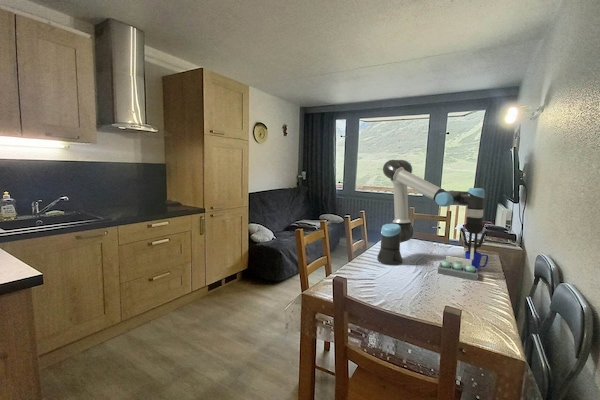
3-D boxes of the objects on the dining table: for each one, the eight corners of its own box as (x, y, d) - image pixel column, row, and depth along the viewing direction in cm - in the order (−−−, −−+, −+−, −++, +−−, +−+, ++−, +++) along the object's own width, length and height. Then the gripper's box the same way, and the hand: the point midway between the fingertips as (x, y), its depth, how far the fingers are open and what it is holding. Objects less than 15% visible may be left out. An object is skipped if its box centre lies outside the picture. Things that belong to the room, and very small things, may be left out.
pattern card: (445, 267, 167) (446, 256, 166) (445, 267, 168) (446, 255, 167) (470, 272, 160) (471, 260, 159) (470, 271, 161) (471, 259, 160)
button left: (441, 267, 160) (441, 262, 159) (441, 265, 164) (442, 260, 163) (449, 269, 158) (450, 264, 157) (450, 266, 161) (450, 261, 161)
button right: (465, 271, 154) (465, 266, 153) (465, 269, 157) (465, 264, 157) (474, 273, 151) (475, 268, 151) (474, 271, 155) (475, 265, 155)
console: (437, 273, 158) (437, 268, 157) (439, 267, 168) (440, 262, 167) (477, 280, 148) (477, 275, 147) (476, 273, 158) (477, 268, 157)
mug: (490, 272, 159) (491, 256, 158) (466, 271, 162) (468, 254, 160) (483, 267, 167) (485, 251, 166) (461, 266, 170) (463, 250, 168)
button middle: (452, 269, 157) (453, 264, 156) (453, 267, 160) (453, 262, 160) (461, 271, 154) (462, 266, 154) (462, 268, 158) (462, 263, 158)
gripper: (460, 216, 151) (457, 258, 153) (489, 218, 144) (486, 262, 146) (461, 214, 157) (458, 255, 160) (488, 216, 150) (485, 258, 153)
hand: (471, 258), depth 153 cm, fingers closed
